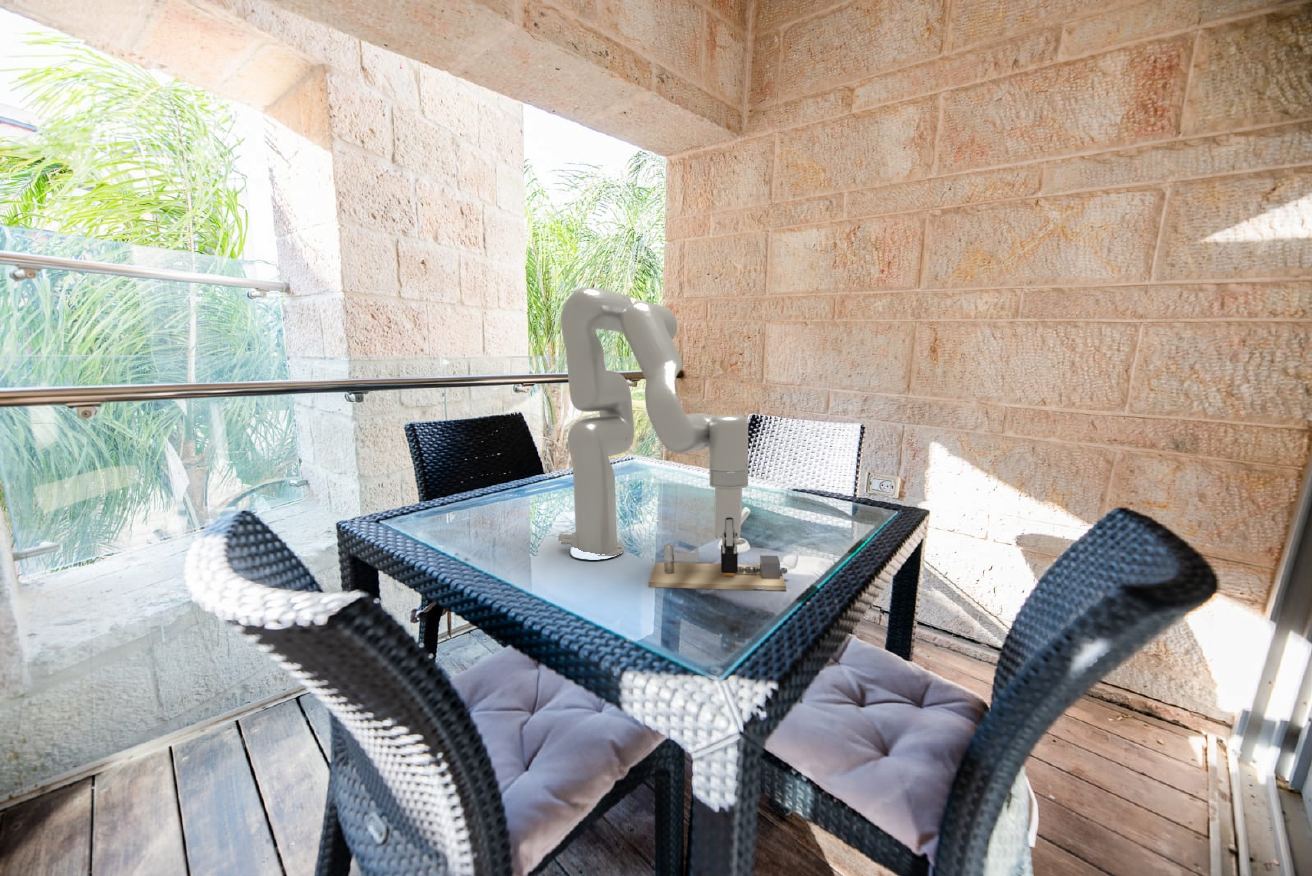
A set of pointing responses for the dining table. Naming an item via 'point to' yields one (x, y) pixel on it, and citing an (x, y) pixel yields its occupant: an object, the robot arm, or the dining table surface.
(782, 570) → the block with bead chain
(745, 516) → the white ringed handle device
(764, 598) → the dining table surface
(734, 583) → the board
